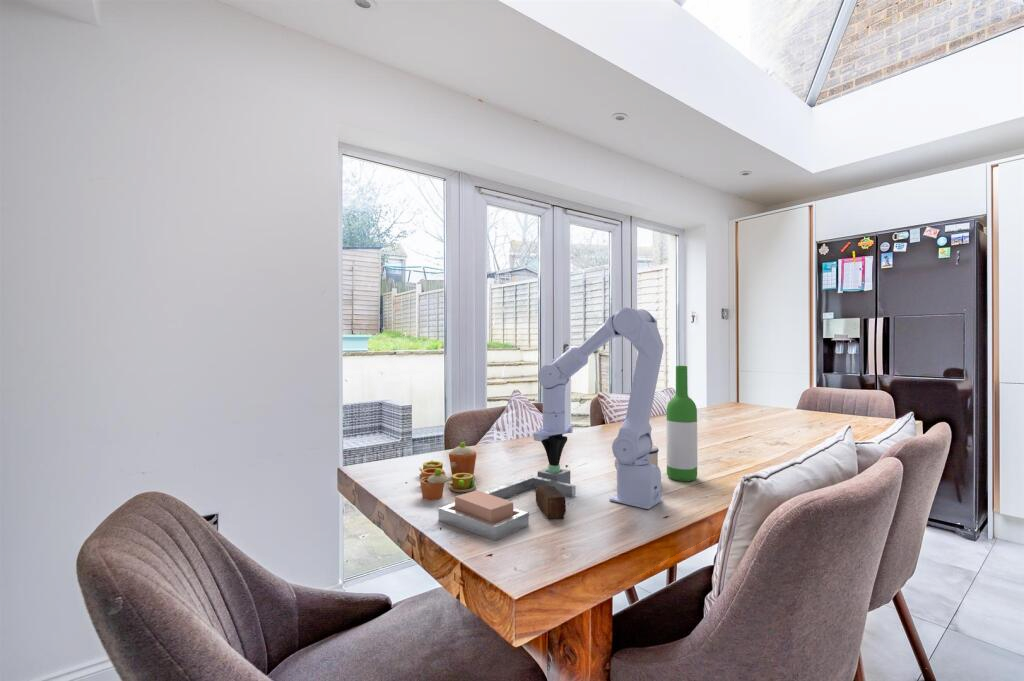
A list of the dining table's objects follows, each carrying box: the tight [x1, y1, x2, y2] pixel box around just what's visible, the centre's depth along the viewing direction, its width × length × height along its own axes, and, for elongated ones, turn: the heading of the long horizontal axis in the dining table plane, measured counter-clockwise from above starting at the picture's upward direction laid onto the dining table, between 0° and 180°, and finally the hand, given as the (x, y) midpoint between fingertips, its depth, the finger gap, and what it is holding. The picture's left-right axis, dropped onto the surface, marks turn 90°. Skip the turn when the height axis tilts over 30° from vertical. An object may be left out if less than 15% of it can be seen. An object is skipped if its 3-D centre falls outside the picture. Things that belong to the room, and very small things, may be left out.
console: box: [537, 467, 571, 484], centre depth 122 cm, size 6×6×4 cm
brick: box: [535, 485, 567, 521], centre depth 104 cm, size 11×4×5 cm, turn 11°
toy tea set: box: [418, 441, 477, 501], centre depth 123 cm, size 26×16×10 cm, turn 8°
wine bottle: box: [666, 365, 698, 482], centre depth 128 cm, size 8×8×30 cm
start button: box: [547, 463, 561, 474], centre depth 122 cm, size 3×3×4 cm
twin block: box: [454, 489, 514, 523], centre depth 97 cm, size 6×11×5 cm, turn 44°
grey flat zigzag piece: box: [438, 475, 577, 542], centre depth 105 cm, size 16×31×2 cm, turn 140°
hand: (554, 465), depth 122 cm, fingers closed, pressing on start button
